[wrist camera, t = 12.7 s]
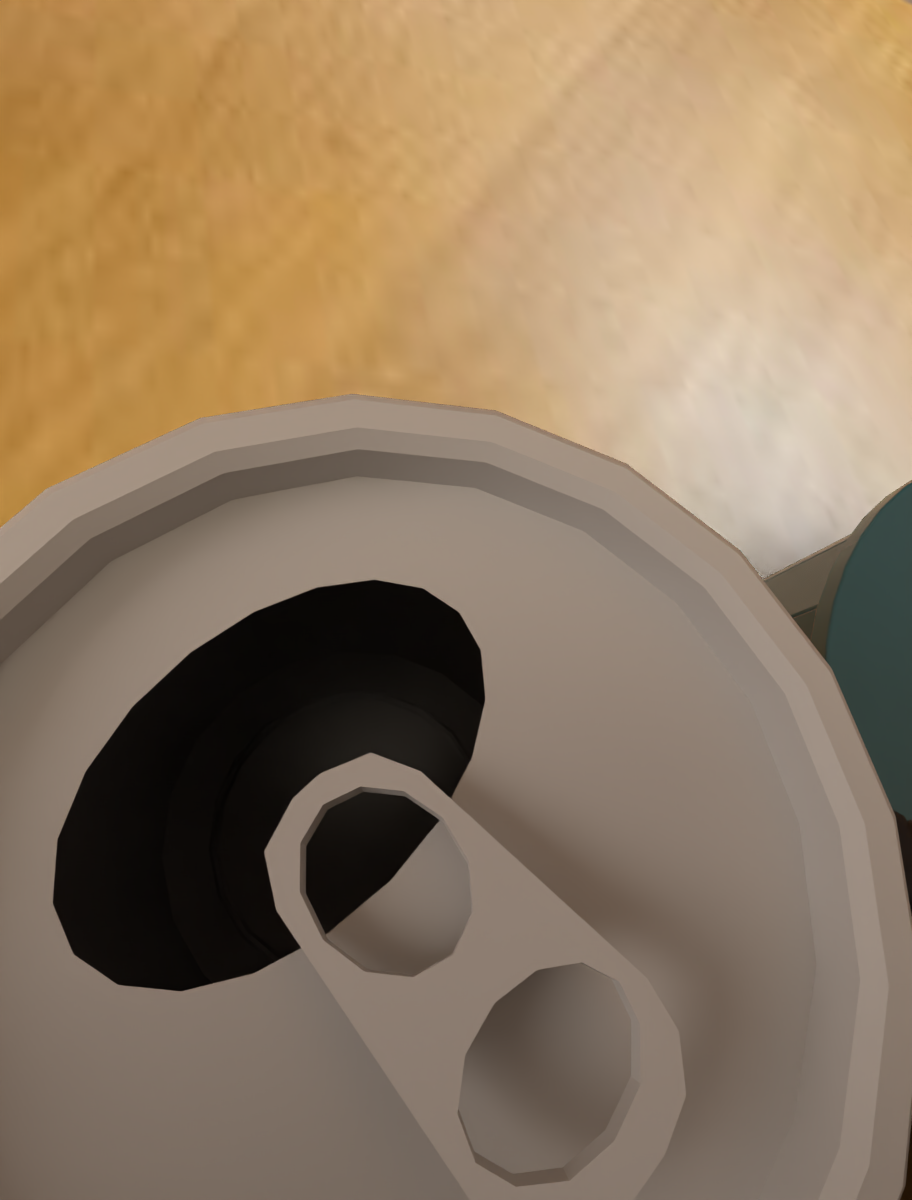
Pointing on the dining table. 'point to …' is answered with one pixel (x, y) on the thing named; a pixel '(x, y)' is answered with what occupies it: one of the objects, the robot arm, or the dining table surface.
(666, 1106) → the can
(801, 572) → the pot
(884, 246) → the dining table surface
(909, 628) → the pot lid
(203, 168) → the dining table surface
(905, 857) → the robot arm
